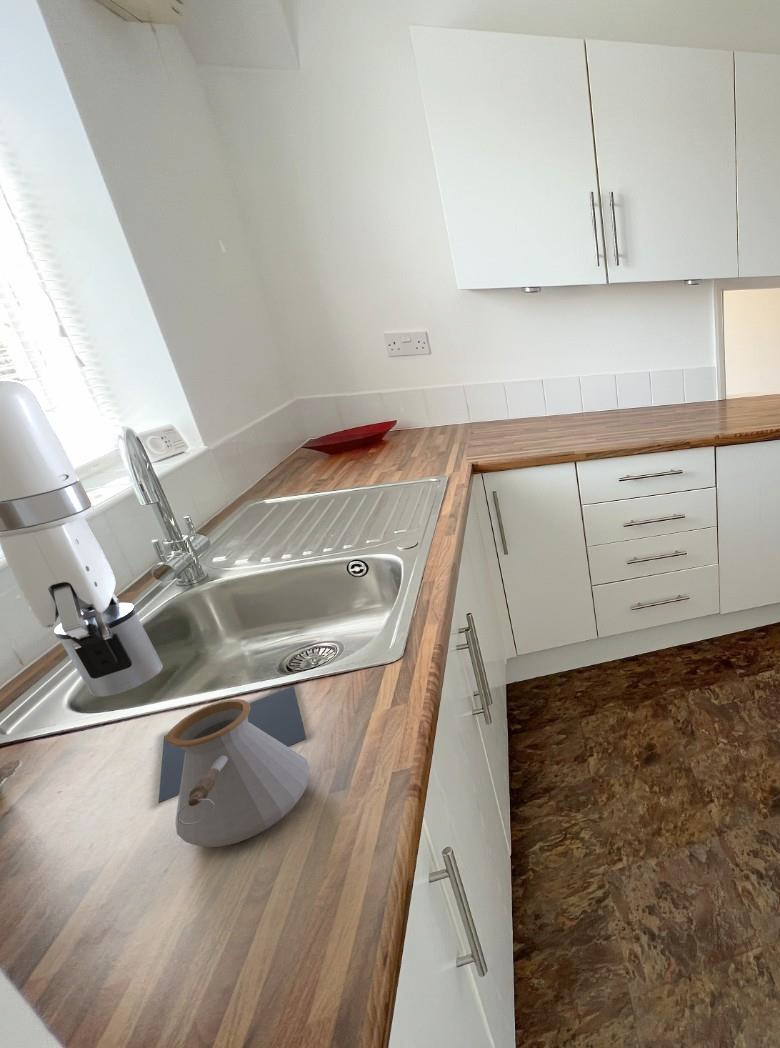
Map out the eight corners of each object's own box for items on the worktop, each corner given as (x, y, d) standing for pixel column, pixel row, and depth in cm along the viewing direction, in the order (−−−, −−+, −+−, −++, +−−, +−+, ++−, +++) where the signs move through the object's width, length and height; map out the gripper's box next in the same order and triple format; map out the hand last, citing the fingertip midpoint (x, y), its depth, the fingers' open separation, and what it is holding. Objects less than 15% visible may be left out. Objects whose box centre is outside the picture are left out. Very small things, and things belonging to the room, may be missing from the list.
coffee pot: (190, 808, 64) (132, 699, 59) (313, 756, 71) (270, 653, 65) (172, 975, 48) (89, 848, 43) (332, 888, 55) (278, 767, 49)
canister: (85, 705, 62) (47, 642, 59) (93, 678, 66) (59, 618, 63) (162, 679, 65) (130, 618, 62) (165, 654, 70) (136, 596, 67)
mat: (159, 805, 65) (158, 803, 65) (165, 738, 75) (163, 735, 75) (307, 741, 73) (306, 738, 73) (294, 688, 83) (293, 685, 83)
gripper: (1, 497, 62) (82, 639, 69) (-51, 546, 49) (53, 714, 56) (99, 479, 66) (165, 614, 73) (73, 520, 54) (156, 678, 60)
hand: (116, 656), depth 65 cm, fingers closed on canister, 6 cm apart
